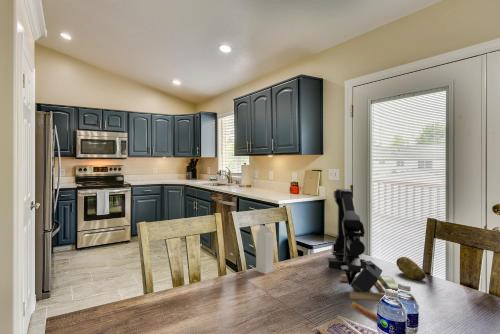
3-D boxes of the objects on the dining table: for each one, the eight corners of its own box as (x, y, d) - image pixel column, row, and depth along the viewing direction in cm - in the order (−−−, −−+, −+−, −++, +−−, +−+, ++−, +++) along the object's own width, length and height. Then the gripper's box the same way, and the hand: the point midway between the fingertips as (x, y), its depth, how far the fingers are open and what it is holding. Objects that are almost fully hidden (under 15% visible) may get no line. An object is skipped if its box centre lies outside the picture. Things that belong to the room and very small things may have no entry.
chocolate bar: (377, 324, 98) (378, 318, 98) (350, 308, 109) (350, 302, 109) (382, 322, 100) (383, 316, 100) (354, 306, 110) (355, 300, 110)
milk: (265, 274, 138) (265, 228, 137) (255, 270, 142) (256, 226, 141) (273, 270, 142) (273, 226, 141) (263, 267, 146) (264, 223, 145)
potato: (411, 282, 130) (411, 265, 130) (393, 271, 143) (393, 255, 142) (427, 281, 131) (428, 264, 131) (408, 270, 144) (409, 254, 144)
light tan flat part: (341, 280, 132) (341, 271, 132) (391, 282, 130) (392, 274, 129) (350, 298, 115) (350, 288, 115) (408, 302, 113) (409, 291, 113)
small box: (364, 298, 116) (379, 279, 112) (349, 286, 119) (364, 267, 115) (369, 288, 125) (383, 270, 121) (355, 277, 128) (369, 259, 124)
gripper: (331, 252, 115) (329, 291, 116) (380, 255, 113) (379, 295, 113) (327, 244, 126) (326, 280, 127) (372, 247, 124) (370, 283, 124)
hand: (349, 284), depth 122 cm, fingers closed, pressing on small box
